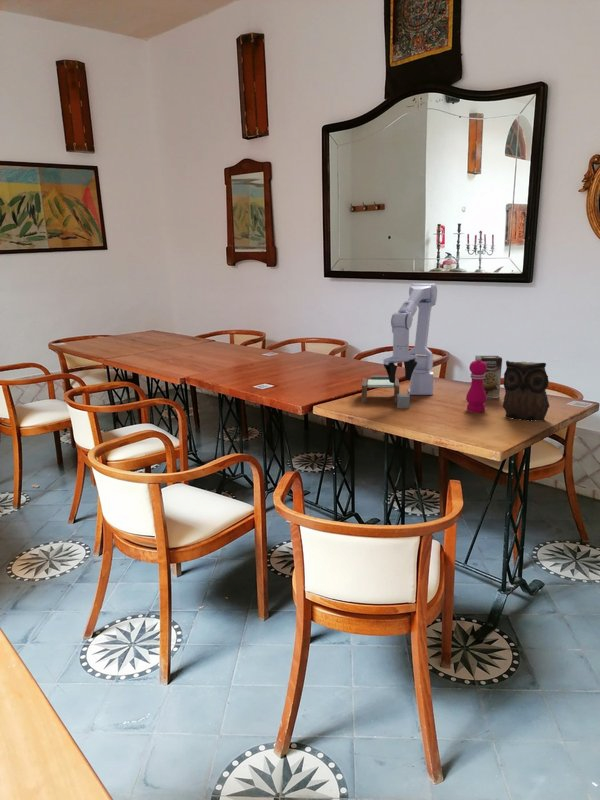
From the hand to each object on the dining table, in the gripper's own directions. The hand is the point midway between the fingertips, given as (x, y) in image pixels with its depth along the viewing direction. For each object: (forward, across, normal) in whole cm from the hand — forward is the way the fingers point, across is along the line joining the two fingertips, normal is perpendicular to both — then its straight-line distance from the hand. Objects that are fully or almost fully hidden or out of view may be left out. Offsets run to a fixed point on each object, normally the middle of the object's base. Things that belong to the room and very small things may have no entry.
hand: (400, 381), depth 215 cm
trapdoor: (+4, 0, -12) cm, 13 cm away
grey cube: (+10, 0, +2) cm, 10 cm away
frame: (+10, 0, -12) cm, 15 cm away
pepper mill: (+10, -19, +20) cm, 29 cm away
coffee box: (+10, -36, +9) cm, 39 cm away
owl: (+10, -27, +36) cm, 46 cm away
